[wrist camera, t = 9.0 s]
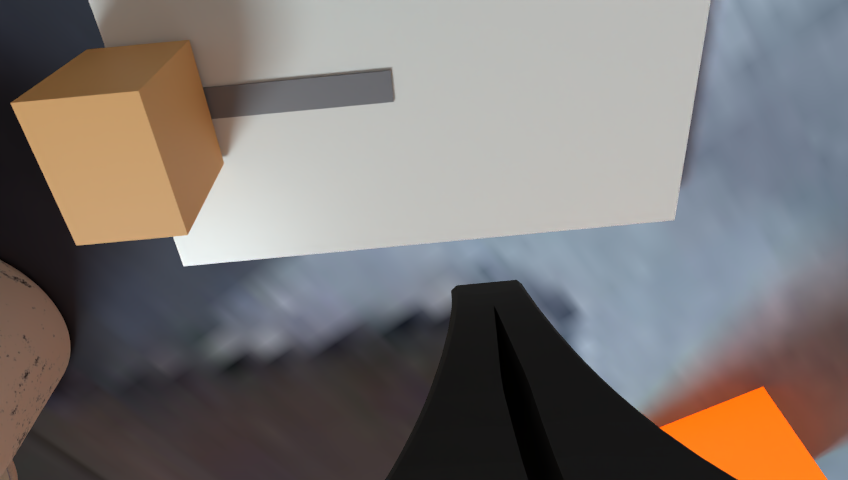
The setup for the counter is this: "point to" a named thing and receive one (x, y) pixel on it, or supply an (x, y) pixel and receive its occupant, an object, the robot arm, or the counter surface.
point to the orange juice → (747, 440)
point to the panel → (428, 116)
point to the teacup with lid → (26, 359)
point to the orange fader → (124, 141)
